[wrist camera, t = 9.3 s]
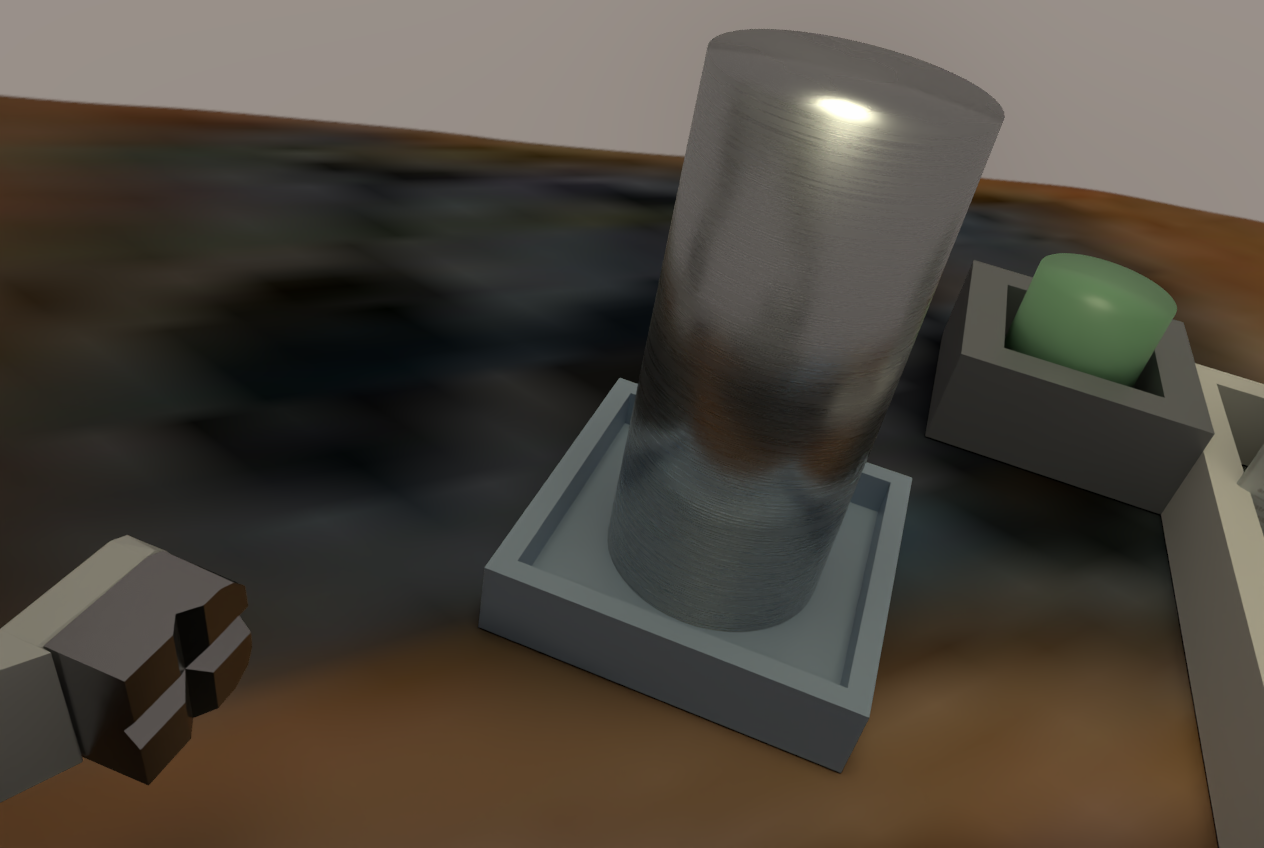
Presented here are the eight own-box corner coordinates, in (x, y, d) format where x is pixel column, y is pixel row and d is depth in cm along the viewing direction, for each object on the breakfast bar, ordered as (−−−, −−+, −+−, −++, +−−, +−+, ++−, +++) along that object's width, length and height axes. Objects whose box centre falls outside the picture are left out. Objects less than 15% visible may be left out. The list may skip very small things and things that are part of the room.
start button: (986, 405, 30) (1039, 292, 27) (990, 346, 33) (1039, 241, 30) (1118, 448, 29) (1184, 336, 27) (1109, 383, 32) (1169, 278, 30)
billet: (574, 580, 21) (668, 71, 14) (647, 455, 25) (747, 12, 18) (793, 665, 20) (1000, 164, 14) (834, 522, 24) (1007, 80, 17)
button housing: (924, 436, 29) (961, 353, 27) (942, 333, 35) (973, 260, 33) (1160, 514, 28) (1214, 433, 26) (1139, 395, 33) (1183, 322, 32)
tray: (478, 626, 20) (484, 567, 19) (609, 430, 27) (619, 377, 26) (841, 772, 19) (869, 717, 18) (889, 529, 25) (912, 478, 24)
